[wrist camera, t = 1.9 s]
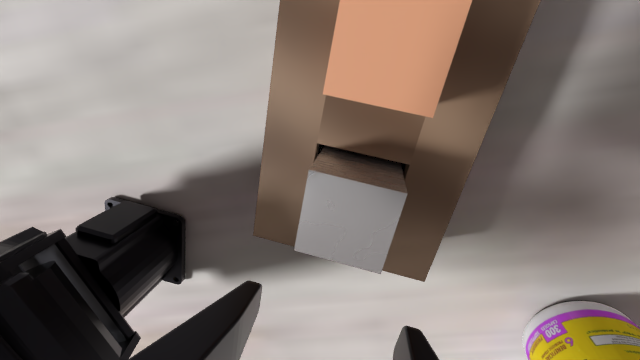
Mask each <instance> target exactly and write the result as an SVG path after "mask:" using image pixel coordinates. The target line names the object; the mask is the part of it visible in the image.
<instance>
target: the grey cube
mask: <svg viewBox="0 0 640 360" xmlns="http://www.w3.org/2000/svg"><path fill="white" fill-rule="evenodd" d="M406 197H407V189H406V185H405V181H404V176H403V172H402V168H401V164H398V163H394V162H390V161H385V160H381V159H377V158H373V157H368V156H364V155H360V154H355V153H351V152H347V151H343V150H338V149H334V148H330V147H325V146H324V148H323V149H322V151H321V152H320V154H319V155H318V157H317V158H316V160H315V161H314V163H313V164H312V166H311V167H310V169H309V171H308V177H307V182H306V188H305V193H304V199H303V204H302V210H301V215H300V220H299V226H298V231H297V237H296V242H295V248H294V251H298V252H301V253H305V254H309V255H313V256H316V257H320V258H324V259H327V260H331V261H335V262H338V263H342V264H346V265H349V266H353V267H357V268H360V269H364V270H368V271H371V272H375V273H379V274H381V272H382V269H383V266H384V263H385V260H386V257H387V254H388V251H389V248H390V245H391V242H392V239H393V236H394V233H395V230H396V227H397V224H398V221H399V218H400V215H401V212H402V209H403V206H404V203H405V200H406Z"/></svg>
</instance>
